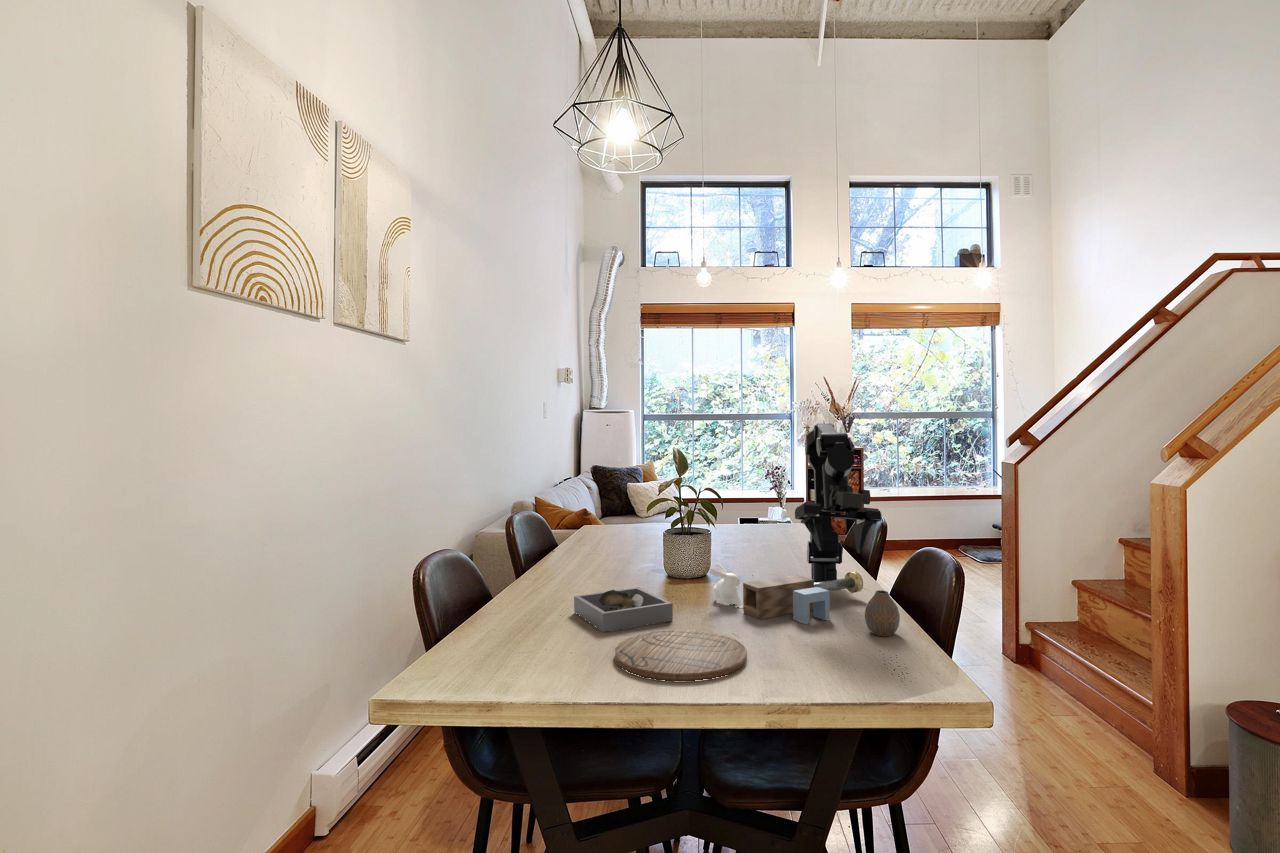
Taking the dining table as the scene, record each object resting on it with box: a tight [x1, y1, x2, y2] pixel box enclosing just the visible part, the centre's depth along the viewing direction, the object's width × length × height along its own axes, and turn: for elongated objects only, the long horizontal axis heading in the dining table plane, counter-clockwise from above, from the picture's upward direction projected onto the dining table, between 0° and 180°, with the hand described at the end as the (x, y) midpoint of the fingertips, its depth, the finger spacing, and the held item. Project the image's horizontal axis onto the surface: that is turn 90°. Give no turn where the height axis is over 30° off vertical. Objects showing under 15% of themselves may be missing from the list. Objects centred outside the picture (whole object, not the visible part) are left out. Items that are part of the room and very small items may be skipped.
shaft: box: [814, 571, 864, 594], centre depth 169 cm, size 20×5×5 cm, turn 117°
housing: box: [742, 574, 814, 620], centre depth 163 cm, size 16×6×7 cm, turn 117°
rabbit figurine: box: [709, 563, 743, 609], centre depth 171 cm, size 12×8×10 cm, turn 6°
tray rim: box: [573, 587, 674, 633], centre depth 160 cm, size 17×17×4 cm
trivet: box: [614, 629, 748, 681], centre depth 132 cm, size 25×25×2 cm
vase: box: [864, 589, 901, 637], centre depth 145 cm, size 7×7×9 cm
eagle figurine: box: [598, 589, 643, 610], centre depth 159 cm, size 8×7×9 cm
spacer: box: [792, 587, 831, 625], centre depth 156 cm, size 4×7×6 cm, turn 117°
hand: (840, 551), depth 155 cm, fingers open, 9 cm apart
